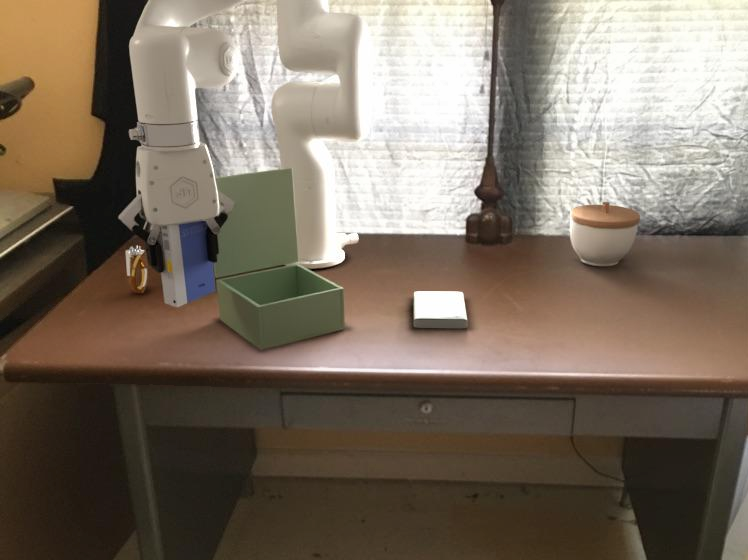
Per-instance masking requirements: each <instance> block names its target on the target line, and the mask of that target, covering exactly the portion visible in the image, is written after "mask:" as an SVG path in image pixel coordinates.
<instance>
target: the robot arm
mask: <svg viewBox="0 0 748 560" xmlns="http://www.w3.org/2000/svg"><path fill="white" fill-rule="evenodd" d="M247 1H248V0H147V2H146V4H145V5H144V8H143V10H142V13H141V15H140V17H139V19H138V21H137V24H136V26H135V30H134V32H133V35H132V36H131V38H130V39H129V44H128V49H129V60H130V66H131V67H130V68H131V74H132V75H131V76H132V82H133V90H134V98H135V105H136V114H137V120H138V121H137V122H136V127H134V128H131V129H128V136H129V139H130V140H131V141H139V143H140V144H141V145H139V146H137V147H136V156H135V188H136V197H134V198H133V200H132V201H131V202H130V203H129V204H128V205H127V206H126V207H125V208H124V209H123V210H122V212H121V213H120V214H119V215H118V217H117V219H118V220H119V222H121V224H122V225H124V226H125V227H126V228H127V229H128V230H129V231H130V232H131V233H133V234H134V235H135V236H136V237H138V238H139V239H141V240H142V241H144V246H145V252H146V256H147V261H148V267H149V266H150V267H151V269H153V270H154V271H155V272H157V273H158V274H161V272H163V271H164V265H163V257H162V249H161V245H160V244H159V243H158V242H157V239H158V236H159V233H160V231H161V227H165V226H167V225H179V224H185V223H192V222H198V221H205V223H206V224H207V226H208V227H207V229H206V231H207V234H206V243H207V253H208V260H209V261H211V262H213V264H214V263H216V262H217V254H219V247H218V236H217V234H219V233H220V228H221V227H222V226H223V224H224V223H225V222H226V220H227V218H228V215H229V214H230V212H231V211H232V209H233V207H234V206H235V202H234V201H233V200H232V199H230V198H229V197H227V196H226V195H224V194H223V193H221V192H220V191H218V190H217V186H216V180H215V177H216V176H215V171H214V167H213V166H214V165H213V163H212V158H211V155H210V151H209V148H208V145H207V143H205V142H202V141H201V138H200V129H199V119H198V118H199V117H198V110H197V99H196V89H219V88H223V87H225V86H227V85H228V84H229V83H231V81H233V80H234V78H235V77H236V75H237V73H238V71H239V67H240V54H239V49H238V46H237V44H236V43H235V41H234V40H233V38H232V37H231V36H229V35H228V34H227V33H226V32H224V31H222V30H220V29H216V28H212V27H198V26H197V27H194V26H193V25H194V24H196V23H197V22H199V21H201V20H203V19H205V18H208V17H211V16H214V15H216V14H219V13H222V12H225V11H227V10H230V9H233V8H235V7H237V6H239V5H241V4H243V3H245V2H247ZM276 21H277V43H278V45H277V46H278V53H279V55H278V56H279V58H280V62H281V64H282V65H283V66H284V68H286V69H287V70H288V71H291V72H295V73H301V74H317V75H318V74H319V75H336V76H338V79H339V82H338V83H337V82H324V81H304V80H303V81H302V80H299V81H290V82H286V83H284V84H282V85H280V86H278V88H277V89H276V90H275V91H274V93H273V95H272V99H271V107H270V108H271V116H272V121H273V125H274V129H275V134H276V137H277V143H278V144H277V145H278V150H279V160H280V169H284V168H292V173H293V188H294V203H295V218H296V232H297V247H298V262H295V263H290V264H285V265H284V266H289V265H294V264H299V265H301V266H303V267H305V268H307V269H309V270H313V269H314V270H315V269H317V270H318V269H324V268H330V267H334V266H336V265H339V264H341V263H342V262H343V261H345V258H346V257H345V256H346V255H345V251H344V250H343V248H344V247H346V245H355V244H358V243H359V235H358V234H357V233H355V232H354V233H350V234H346V233H344V232H340V233H339V232H337V231H336V229H337V227H336V196H335V195H336V194H335V166H334V161H333V158H332V156H331V154H330V152H329V150H328V148H327V147H326V146H325V143H324V142H323V141H325V142H327V141H328V142H341V143H342V142H343V143H357V142H361V141H362V140H364V139H365V138H367V136H368V134H369V133H370V129H371V125H372V118H373V43H372V42H373V41H372V36H371V32H370V29H369V27H368V24H367V22H366V21H365V20H364V19H363V18H362V17H360V16H359V15H358V14H355V13H354V14H353V13H347V12H330V10H329V0H276ZM191 26H193V27H191ZM219 202H220V208H219ZM138 214H139V217H140V218H141V219H143V220H144V221H145V223H144V225H143V227H142V226H140V225H139V223H137V221H136V220H135V218H136V216H138Z"/></svg>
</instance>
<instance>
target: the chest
mask: <svg viewBox="0 0 748 560" xmlns="http://www.w3.org/2000/svg"><path fill="white" fill-rule="evenodd" d="M215 284H216V292H217V302H218V312H219V313H218V314H219V320H220V321H221V322H222V323H224V324H225V325H226V326H228V327H229V328H230V329H232V330H233V331H235V332H236V333H237V334H238V335H240V336H241V337H243V338H244V339H245V340H246V341H248V342H249V343H251V344H252V345H253V346H255V347H256V348H257V349H259V350H261V351H262V350H267V349H272V348H274V347H279V346H283V345H288V344H291V343H295V342H298V341H299V342H300V341H302V340H307V339H310V338H314V337H315V338H316V337H319V336H324V335H327V334H331V333H335V332H339V331H343V330H345V328H346V326H345V325H346V322H345V321H346V320H345V319H346V318H345V289H344V287H342V286H340V285H339V284H337V283H335V282H333V281H331V280H330V279H327V278H325V277H324V276H322V275H320V274H318V273H316V272H315V271H312V269H307V268H305V267H303V266H301V265H299V264H294V265H289V266H286V265H283V266H278V267H274V268H268V269H263V270H257V271H252V272H247V273H242V274H237V275H233V276H227V277H224V278H223V277H222V278H219V279H218V278H217V279H216V280H215Z"/></svg>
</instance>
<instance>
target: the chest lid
mask: <svg viewBox="0 0 748 560" xmlns="http://www.w3.org/2000/svg"><path fill="white" fill-rule="evenodd" d="M215 180H216V186H217V190H218V191H220V192H221V193H223V194H224V195H226V196H227V197H229V198H230V199H232V200H233V201H234V202H235V206H234V207H233V209H232V211H231V212H230V214H229V215H228V218H227V220H226V222H225V223H224V224H223V226H222V227H221V228H220V233H219V234H217V236H218V247H219V254H217V262H216V263H213V268H214V278H217V279H218V278H223V277H229V276H232V275H233V276H235V275H240V274H245V273H250V272H255V271H260V270H265V269H270V268H273V267H274V268H275V267H280V266H286V265H285V264H290V263H295V262H298V247H297V232H296V218H295V203H294V188H293V173H292V168H284V169H281V168H278V169H269V170H261V171H255V172H246V173H239V174H233V175H232V174H231V175H224V176H223V175H222V176H215ZM219 208H220V202H219Z"/></svg>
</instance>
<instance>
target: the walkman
mask: <svg viewBox="0 0 748 560" xmlns="http://www.w3.org/2000/svg"><path fill="white" fill-rule="evenodd" d="M207 227H208V226H207V224H206V223H205V221H198V222H192V223H185V224H179V225H167V226H165V227H161V231H160V233H159V236H158V239H157V242H158V243H159V244H160V245H161V249H162V257H163V265H164V271H163V272H161V273H160V276H161V284H162V293H163V300H164V301H163V302H164V304H165V305H169V306H171V307H174V308H180V307H182V306H184V305H187V304H189V303H191V302H193V301H196V300H198V299H200V298H203V297H205V296H208V295H209V294H212V293H214V292H217V288H216V280H215V271H214V263H213V262H211V261H209V260H208V253H207V243H206V234H207V231H206V229H207Z"/></svg>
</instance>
